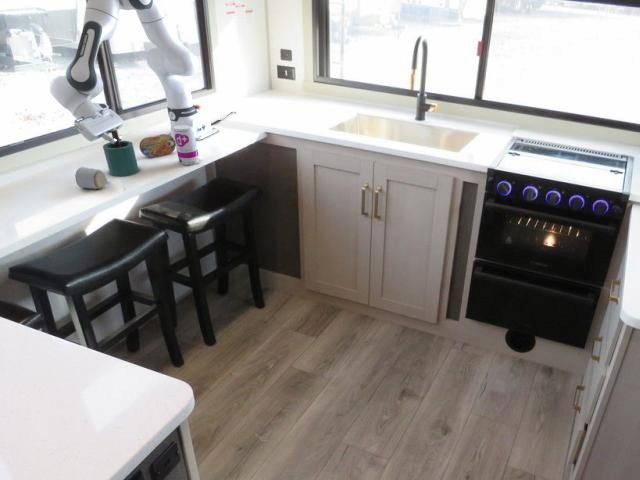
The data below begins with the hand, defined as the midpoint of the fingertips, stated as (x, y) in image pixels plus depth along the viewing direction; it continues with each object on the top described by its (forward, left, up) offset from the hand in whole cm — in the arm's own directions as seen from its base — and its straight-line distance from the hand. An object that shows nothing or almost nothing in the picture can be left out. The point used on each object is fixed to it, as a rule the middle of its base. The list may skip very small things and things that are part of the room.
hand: (118, 141), depth 227 cm
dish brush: (0, -1, -12) cm, 12 cm away
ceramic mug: (+17, +3, -13) cm, 21 cm away
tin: (-21, -5, -13) cm, 25 cm away
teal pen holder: (0, -1, -13) cm, 13 cm away
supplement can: (-21, +13, -13) cm, 28 cm away
